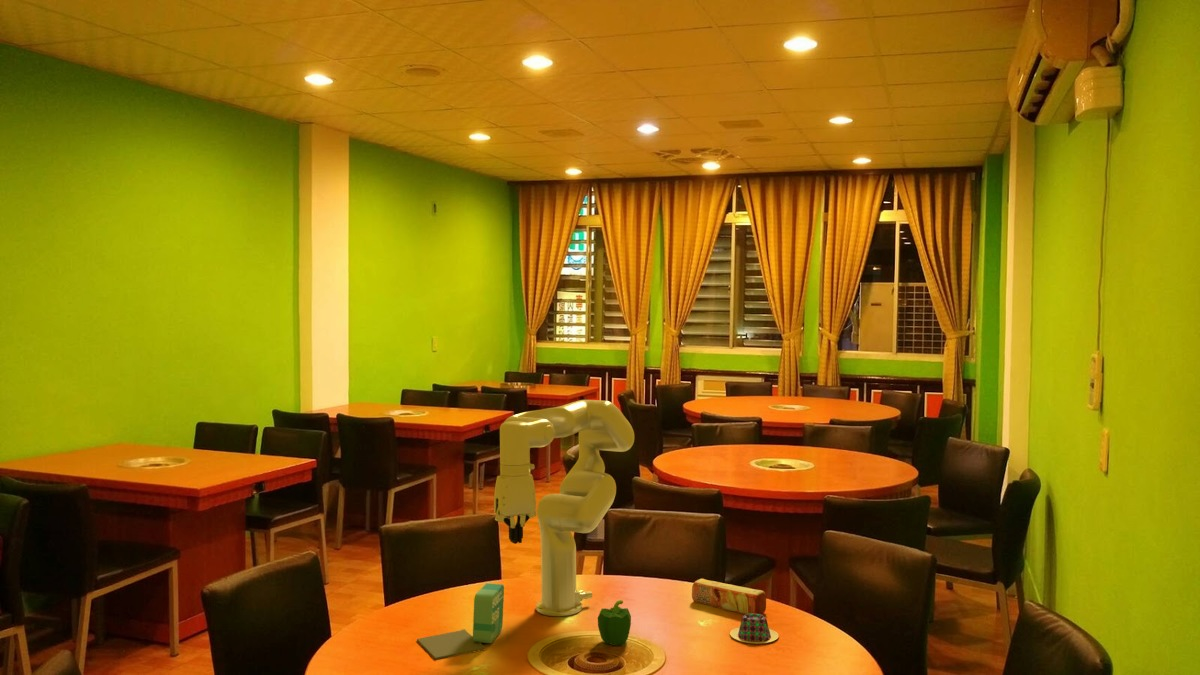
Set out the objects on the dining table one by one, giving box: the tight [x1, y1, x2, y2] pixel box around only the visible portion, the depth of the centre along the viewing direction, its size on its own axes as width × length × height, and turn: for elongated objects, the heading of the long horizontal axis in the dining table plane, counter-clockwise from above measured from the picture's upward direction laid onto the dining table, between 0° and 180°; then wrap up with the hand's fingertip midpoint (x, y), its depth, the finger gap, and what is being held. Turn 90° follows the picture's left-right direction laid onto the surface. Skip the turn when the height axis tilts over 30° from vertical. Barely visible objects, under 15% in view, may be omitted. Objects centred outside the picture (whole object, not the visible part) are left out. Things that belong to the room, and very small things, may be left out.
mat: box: [416, 629, 486, 661], centre depth 219 cm, size 12×14×1 cm
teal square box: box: [472, 582, 505, 644], centre depth 224 cm, size 12×4×12 cm, turn 172°
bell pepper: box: [597, 599, 632, 647], centre depth 220 cm, size 8×8×10 cm
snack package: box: [691, 578, 767, 615], centre depth 245 cm, size 21×7×7 cm, turn 48°
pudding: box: [729, 613, 780, 644], centre depth 223 cm, size 12×12×5 cm
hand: (516, 541), depth 227 cm, fingers closed
